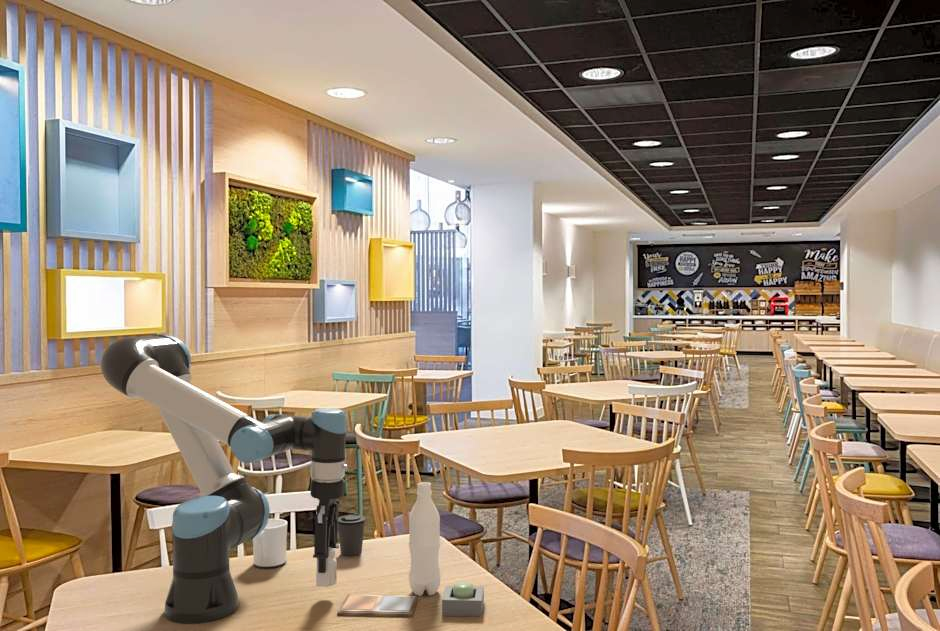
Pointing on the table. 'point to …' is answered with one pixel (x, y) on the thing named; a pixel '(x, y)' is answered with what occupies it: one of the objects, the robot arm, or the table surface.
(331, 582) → the pill bottle
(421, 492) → the water bottle
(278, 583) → the table surface
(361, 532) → the coffee cup
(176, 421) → the robot arm
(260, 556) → the mug
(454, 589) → the button
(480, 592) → the button housing
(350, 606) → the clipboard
